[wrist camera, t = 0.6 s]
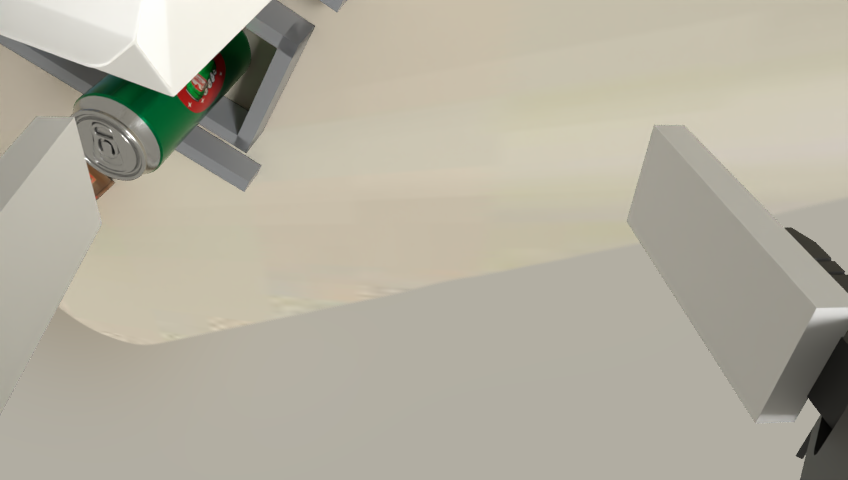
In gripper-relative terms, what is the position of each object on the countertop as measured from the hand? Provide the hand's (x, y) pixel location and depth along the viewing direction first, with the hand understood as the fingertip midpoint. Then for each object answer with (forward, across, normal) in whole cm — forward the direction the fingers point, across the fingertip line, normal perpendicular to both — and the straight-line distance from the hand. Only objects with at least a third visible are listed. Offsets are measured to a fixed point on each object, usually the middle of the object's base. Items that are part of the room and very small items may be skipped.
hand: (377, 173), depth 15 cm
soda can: (+29, -9, -7) cm, 31 cm away
